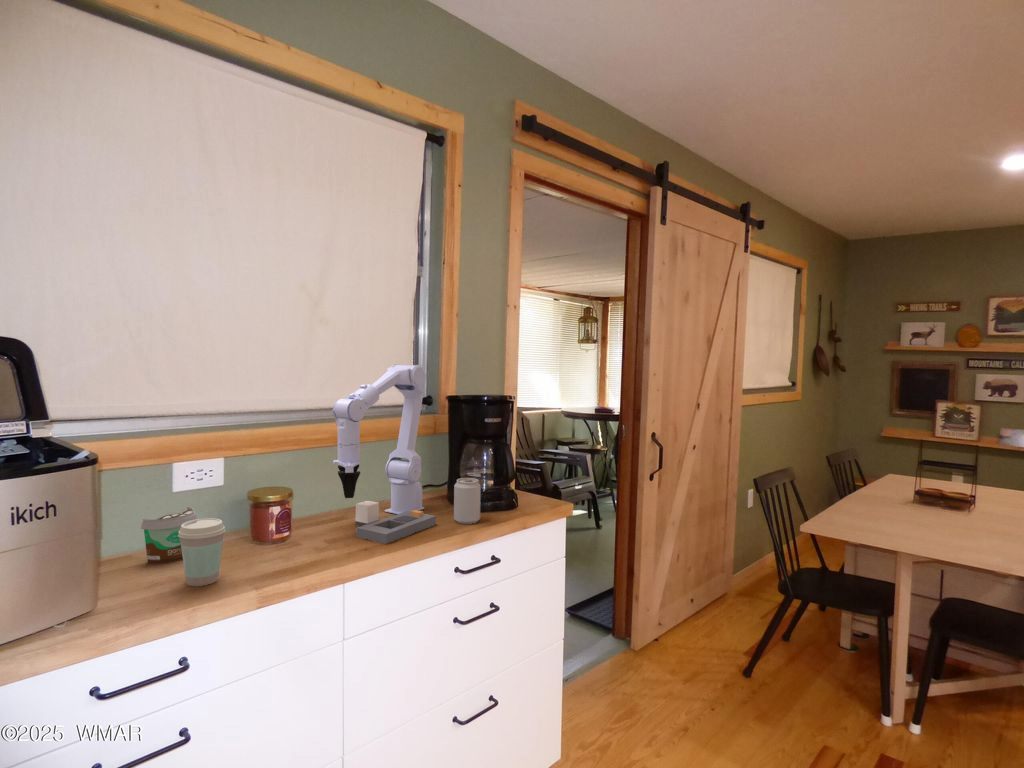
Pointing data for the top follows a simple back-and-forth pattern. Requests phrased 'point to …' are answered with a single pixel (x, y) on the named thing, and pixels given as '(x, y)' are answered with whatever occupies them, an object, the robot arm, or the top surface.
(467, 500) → the can
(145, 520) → the food container
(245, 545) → the top surface
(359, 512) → the plug
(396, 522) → the grey slotted holder
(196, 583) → the coffee cup
